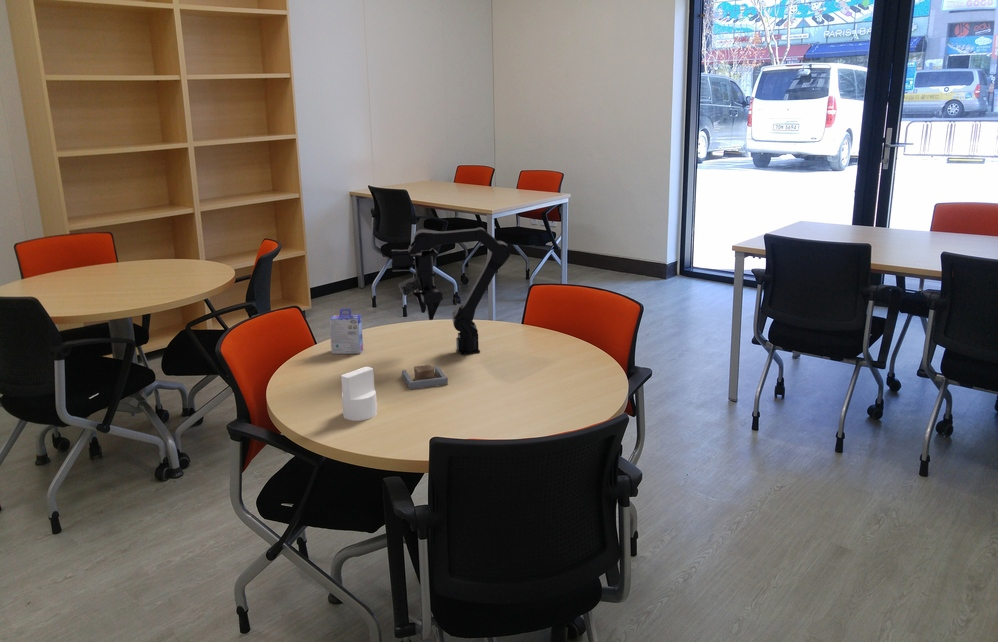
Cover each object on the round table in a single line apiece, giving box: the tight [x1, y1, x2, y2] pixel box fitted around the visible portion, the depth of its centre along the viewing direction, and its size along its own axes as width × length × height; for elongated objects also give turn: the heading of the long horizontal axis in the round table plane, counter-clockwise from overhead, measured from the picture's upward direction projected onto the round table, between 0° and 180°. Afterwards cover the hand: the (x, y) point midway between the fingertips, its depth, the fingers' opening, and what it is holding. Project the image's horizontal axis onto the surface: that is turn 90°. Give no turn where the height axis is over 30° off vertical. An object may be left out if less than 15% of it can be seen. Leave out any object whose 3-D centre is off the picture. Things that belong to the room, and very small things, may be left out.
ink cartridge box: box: [328, 308, 364, 355], centre depth 252 cm, size 10×6×14 cm, turn 89°
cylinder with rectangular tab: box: [340, 366, 378, 422], centre depth 202 cm, size 9×9×12 cm
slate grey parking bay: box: [401, 365, 449, 390], centre depth 226 cm, size 11×11×2 cm
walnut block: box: [413, 364, 436, 381], centre depth 226 cm, size 5×5×4 cm
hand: (426, 316), depth 247 cm, fingers open, 9 cm apart
